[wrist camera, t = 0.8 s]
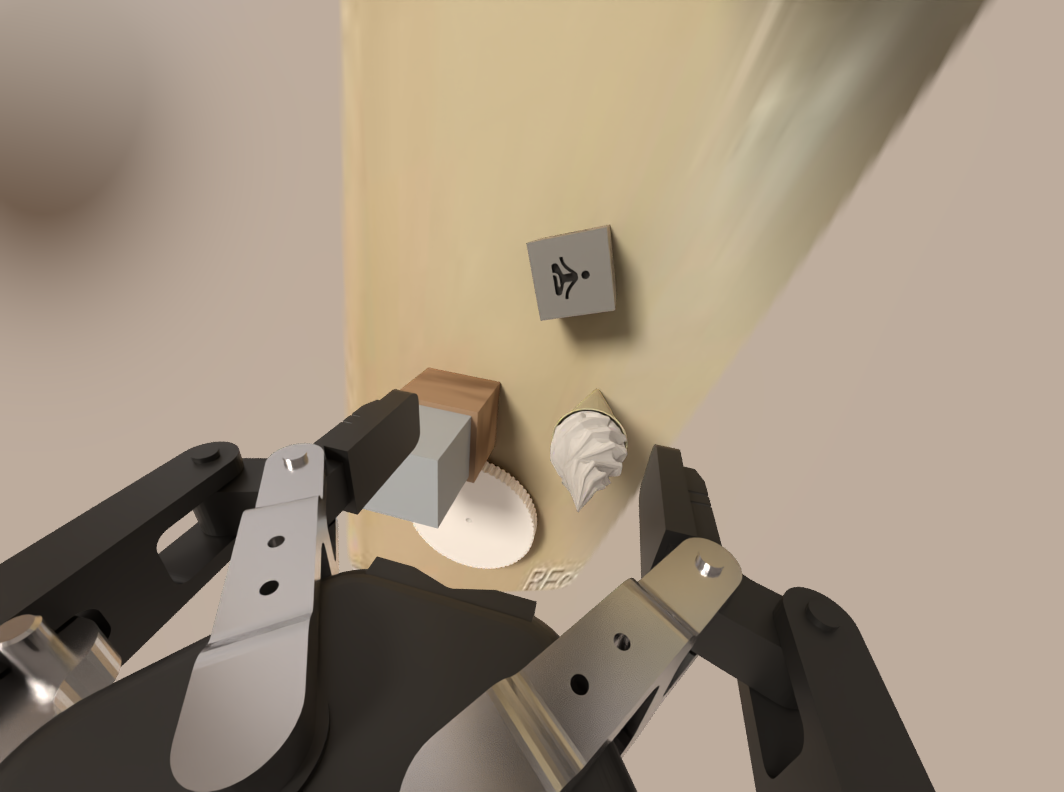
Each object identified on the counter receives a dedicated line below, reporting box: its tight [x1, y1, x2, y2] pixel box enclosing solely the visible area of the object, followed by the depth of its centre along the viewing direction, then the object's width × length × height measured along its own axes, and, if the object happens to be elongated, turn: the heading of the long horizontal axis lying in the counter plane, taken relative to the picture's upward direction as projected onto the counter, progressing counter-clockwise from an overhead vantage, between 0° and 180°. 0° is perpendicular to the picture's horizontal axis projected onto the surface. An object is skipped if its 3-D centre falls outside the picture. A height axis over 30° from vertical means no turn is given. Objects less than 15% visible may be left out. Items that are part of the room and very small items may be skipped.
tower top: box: [363, 405, 471, 529], centre depth 29 cm, size 6×6×6 cm
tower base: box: [401, 368, 500, 483], centre depth 34 cm, size 7×7×6 cm
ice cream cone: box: [550, 389, 628, 512], centre depth 26 cm, size 5×5×15 cm
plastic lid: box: [412, 461, 537, 569], centre depth 41 cm, size 14×14×2 cm
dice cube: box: [527, 225, 617, 321], centre depth 26 cm, size 5×5×5 cm
